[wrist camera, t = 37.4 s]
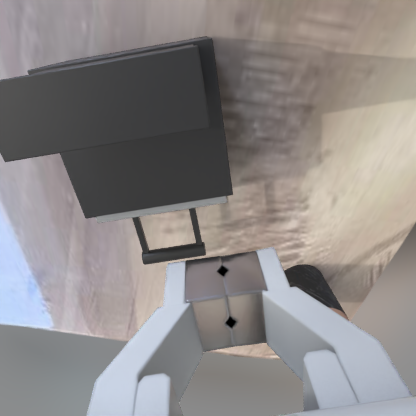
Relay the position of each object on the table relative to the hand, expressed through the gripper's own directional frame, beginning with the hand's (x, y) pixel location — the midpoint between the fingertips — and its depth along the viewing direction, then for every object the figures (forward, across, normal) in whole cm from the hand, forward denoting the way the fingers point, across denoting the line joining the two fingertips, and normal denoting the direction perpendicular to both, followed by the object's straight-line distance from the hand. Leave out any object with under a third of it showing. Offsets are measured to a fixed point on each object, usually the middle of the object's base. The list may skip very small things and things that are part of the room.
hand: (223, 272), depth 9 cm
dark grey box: (+30, +5, +2) cm, 30 cm away
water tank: (+21, +6, -3) cm, 22 cm away
